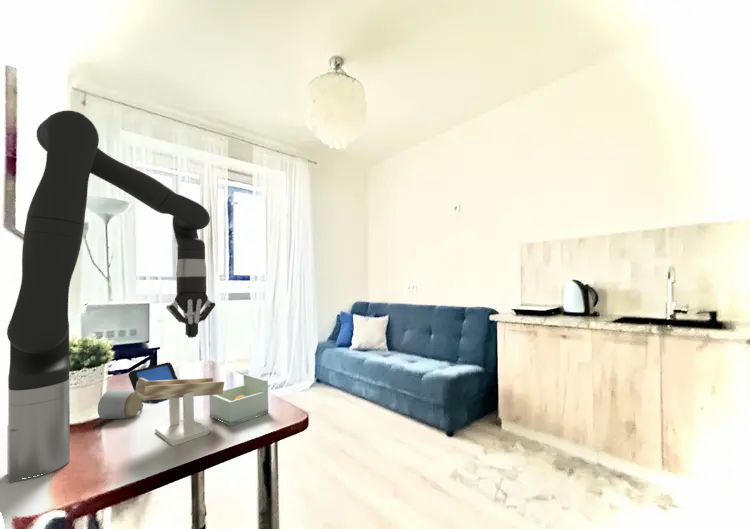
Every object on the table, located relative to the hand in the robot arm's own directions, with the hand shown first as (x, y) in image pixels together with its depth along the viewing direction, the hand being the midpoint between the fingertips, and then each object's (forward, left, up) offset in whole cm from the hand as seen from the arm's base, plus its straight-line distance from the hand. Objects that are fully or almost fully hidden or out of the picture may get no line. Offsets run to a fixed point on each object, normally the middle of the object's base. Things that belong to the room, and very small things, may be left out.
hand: (192, 337), depth 100 cm
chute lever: (-7, -5, -12) cm, 15 cm away
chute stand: (-7, -10, -22) cm, 25 cm away
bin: (+8, -10, -22) cm, 25 cm away
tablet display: (+2, +31, -22) cm, 38 cm away
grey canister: (-12, +18, -22) cm, 31 cm away
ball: (+9, -10, -19) cm, 23 cm away
